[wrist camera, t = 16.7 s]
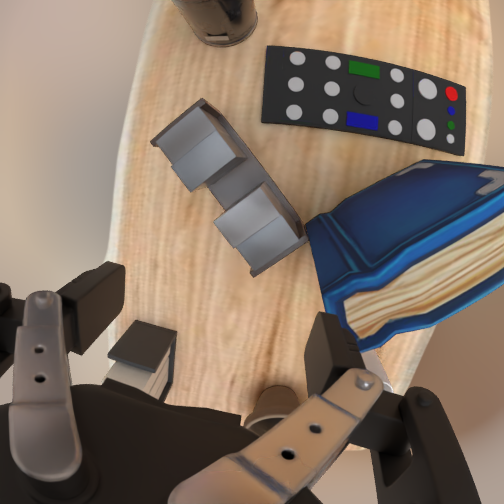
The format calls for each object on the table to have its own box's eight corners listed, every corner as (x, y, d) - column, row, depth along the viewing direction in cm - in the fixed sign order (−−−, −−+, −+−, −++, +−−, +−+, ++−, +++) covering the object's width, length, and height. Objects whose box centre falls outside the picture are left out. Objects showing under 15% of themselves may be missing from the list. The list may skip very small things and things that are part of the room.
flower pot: (323, 399, 51) (328, 439, 42) (275, 425, 54) (273, 464, 45) (283, 364, 50) (283, 404, 40) (235, 394, 53) (227, 433, 43)
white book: (138, 331, 50) (101, 380, 36) (170, 341, 49) (140, 394, 36) (138, 343, 50) (103, 393, 37) (170, 353, 50) (140, 407, 37)
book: (316, 266, 44) (350, 377, 21) (294, 223, 43) (311, 302, 19) (439, 200, 40) (558, 245, 16) (423, 157, 38) (545, 166, 14)
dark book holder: (135, 319, 50) (94, 369, 36) (177, 331, 50) (145, 387, 35) (135, 372, 53) (103, 423, 39) (172, 383, 53) (147, 439, 39)
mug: (341, 333, 47) (355, 380, 36) (379, 336, 47) (400, 381, 35) (326, 380, 50) (334, 429, 39) (361, 382, 50) (375, 430, 38)
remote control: (459, 155, 38) (466, 156, 36) (261, 122, 39) (261, 120, 37) (460, 88, 34) (467, 86, 32) (267, 49, 36) (266, 44, 34)
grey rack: (176, 144, 41) (142, 140, 30) (219, 111, 39) (197, 93, 28) (259, 253, 45) (252, 284, 33) (303, 222, 43) (311, 244, 32)
